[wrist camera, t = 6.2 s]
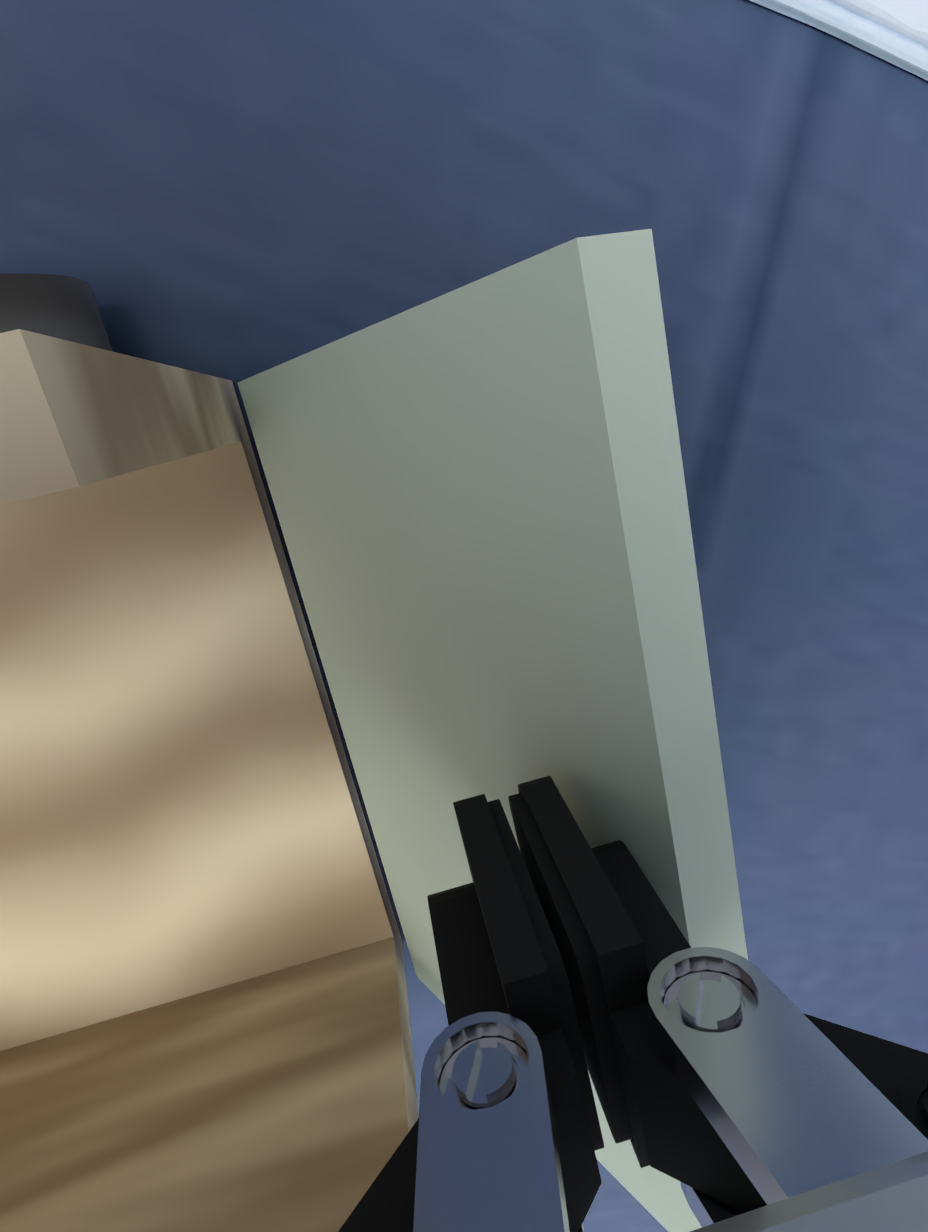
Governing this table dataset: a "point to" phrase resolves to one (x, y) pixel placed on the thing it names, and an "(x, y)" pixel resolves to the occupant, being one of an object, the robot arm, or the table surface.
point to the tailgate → (512, 585)
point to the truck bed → (172, 821)
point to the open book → (869, 26)
